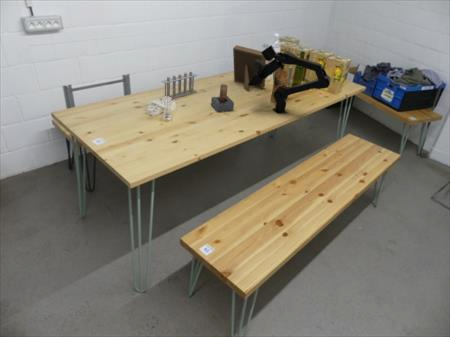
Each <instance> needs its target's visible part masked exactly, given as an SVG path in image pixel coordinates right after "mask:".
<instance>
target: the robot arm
mask: <svg viewBox="0 0 450 337" xmlns="http://www.w3.org/2000/svg"><path fill="white" fill-rule="evenodd" d="M261 53H262V55H263V56H264V58H265V59H266V61H267V62H269V63H266V65H265V64H264V63H263V62H262V61H260V60H259V59H257V60H256V61H255V62H254V64H253V66H254V67H256V68H258V69H259V70H258V72H257V73H255V74H254V75H253V79H252V80H251V81H250V83H249V84H248V86H249V87H251V86H252V85H260V84H261V83H263V81H264V78H265V80H266V79H267V78H268V77H269V76H270V75H271V76H272V75H273V72H275V71H276V70H278V69H279V68H281V69H282V70H283V69H284V66H285V64H288V65H290V66H293V65H294V66H298V67H300V68H304V69H308V70H310V71H313V72H314V73H315V75H316V77H317V78H315V79H314V80H311V81H308V82H307V81H306V82H302V83H298V84H295V85H293V86H290V87H286V85H283V86H279V87H278V88H277V89H276V90H275V92H274V94H273V97H274V98H275V100H276V103H274V104H275V106H274V108H272V111H274V112H275V113H276V114H285V113H288V111H286V107H287V100H288V99H289V96H290V95H294V94H298V93H301V92H306V91H309V90H315V89H316V90H320V89H321V90H323V89H324V90H325V89H328V88H329V86H330V84H331V80H332V79H331V76H329V75H328V73H327V72H326V70H325V69H324V67H323V64H321V63H319V62H315V61H311V60H309V59H306V58H302V57H299V56H297V55H296V54H294V53H292V52H291V51H289V50H285V51H283V52H281V51H280V52H279V51H276V50H275V49H274V47H273V46H272V45H270V46H268V47H266V48H264V49H263V50H262V52H261Z"/></svg>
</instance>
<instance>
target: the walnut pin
mask: <svg viewBox="0 0 450 337" xmlns="http://www.w3.org/2000/svg"><path fill="white" fill-rule="evenodd" d="M219 88H220V90H219V97H220V98H219V101H220V102H226V98H227V96H228V95H227V94H228V88H229V87H228V85H227V84H224V83H223V84H220V87H219Z"/></svg>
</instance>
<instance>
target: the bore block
mask: <svg viewBox="0 0 450 337" xmlns="http://www.w3.org/2000/svg"><path fill="white" fill-rule="evenodd" d="M219 98H220V96H212V97H211V101H210V102H211V103H210V105H211V107H212V108H213V109H214V110H215V111H216V112H217V113H223V112H222V111H224V112H233V111H234V107H235V106H234V105H235V102H234V101H233V100H232V99H231V98H230V97H229V96H228V95H227V98H226V102H220V101H219Z"/></svg>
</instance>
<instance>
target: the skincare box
mask: <svg viewBox="0 0 450 337" xmlns="http://www.w3.org/2000/svg"><path fill="white" fill-rule="evenodd" d="M292 73H293V66H290V73H289V81H288V87H291V86H290V85H291V79H292Z"/></svg>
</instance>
